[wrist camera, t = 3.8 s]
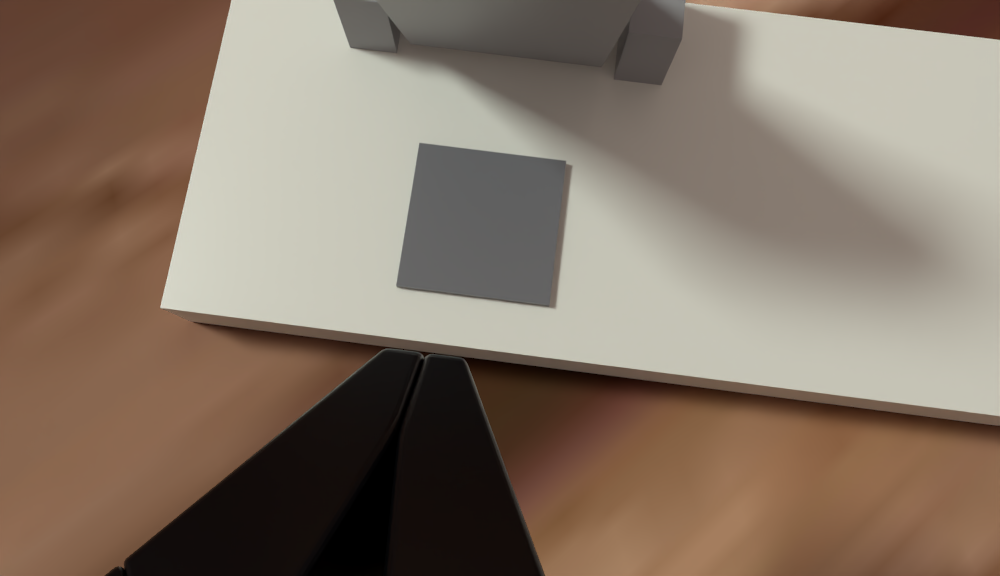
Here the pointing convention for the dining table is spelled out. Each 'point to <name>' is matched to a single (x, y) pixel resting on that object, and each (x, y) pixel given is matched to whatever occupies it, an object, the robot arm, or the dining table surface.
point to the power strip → (613, 201)
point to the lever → (516, 26)
